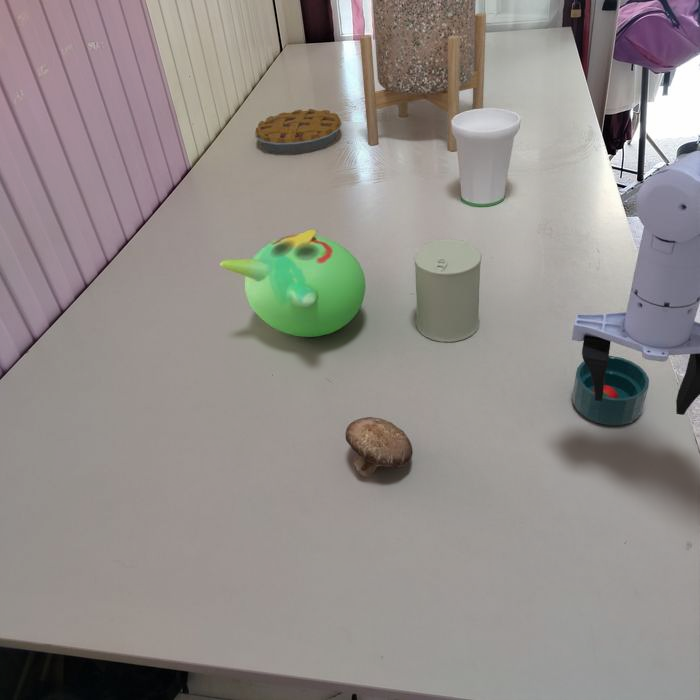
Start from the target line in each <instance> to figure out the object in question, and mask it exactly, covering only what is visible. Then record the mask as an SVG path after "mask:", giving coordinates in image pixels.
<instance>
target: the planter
mask: <svg viewBox="0 0 700 700" xmlns="http://www.w3.org/2000/svg"><path fill="white" fill-rule="evenodd" d="M476 1H477V0H372V13H373V15H372V16H373V28H374V29H373V30H374V43H375V46H374V47H375V60H376V74H377V75H376V76H377V82H378V84H379V85H380V87H382V88H383V89H381V90H376V86H375V85H376V84H375V83H376V82H375V71H374V56H373V43H372V42H373V41H372V35H370V34H364V35H360V37H359V42H360V55H361V67H362V80H363V81H362V82H363V93H364V107H365V118H366V132H367V144H368V145H369V146H377V145H379V128H378V127H379V126H378V114H377V110H380V109H385V108H389V107H393V106H397V110H398V111H397V113H398V117H401V118H405V117H408V116H409V107H408V105H409V103H411V102H416V101H420V100H426V101H428V102H429V103H431V104H433V105H434V106H436V107H437V108H439V109H440V110H443V111H444V112H446V113H447V151H449V152H457V144H456V138H455V137H454V135H453V134H452V130H451V120H452V119H453V118H454V117H455V116H456V115H458V114H460V92H461V91H462V92H463V91H467V90H471V89H472V110H473V109H483V108H484V92H485V91H484V90H485V89H484V88H485V86H484V85H485V62H486V61H485V60H486V59H485V57H486V32H487V31H486V30H487V29H486V27H487V25H486V24H487V22H486V21H487V14H486V13H485V12H480V13H479V12H478V13H476V3H477V2H476Z"/></svg>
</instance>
